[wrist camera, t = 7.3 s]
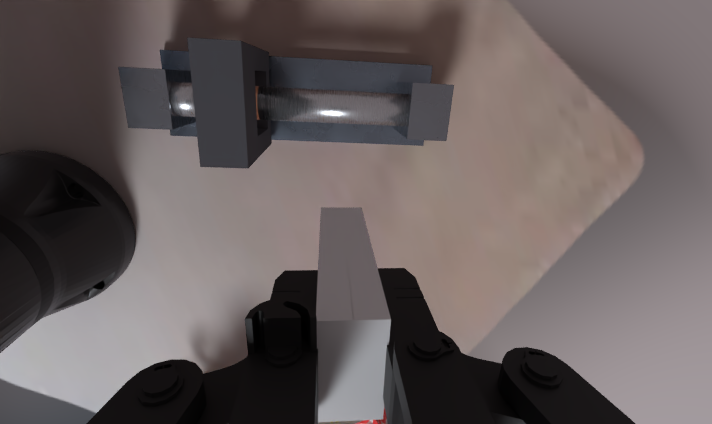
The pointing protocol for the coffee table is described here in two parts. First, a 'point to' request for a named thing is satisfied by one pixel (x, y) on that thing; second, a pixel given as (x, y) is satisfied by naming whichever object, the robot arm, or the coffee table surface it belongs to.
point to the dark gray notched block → (228, 101)
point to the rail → (305, 100)
